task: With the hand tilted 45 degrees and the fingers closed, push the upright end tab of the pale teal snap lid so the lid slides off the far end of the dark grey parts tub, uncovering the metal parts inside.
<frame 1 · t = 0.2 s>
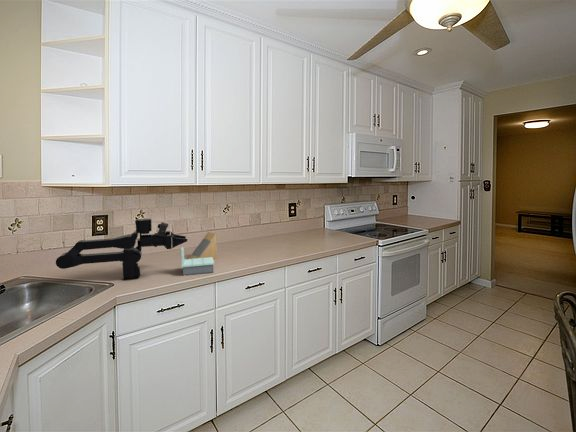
hand: (186, 238, 146), 16 cm above the worktop, tool horizontal, fingers open, 9 cm apart
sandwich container: (201, 261, 166), on the worktop
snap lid: (197, 255, 146), point 8 cm above the worktop, slide at 0.0 cm
parts tub: (198, 271, 147), on the worktop
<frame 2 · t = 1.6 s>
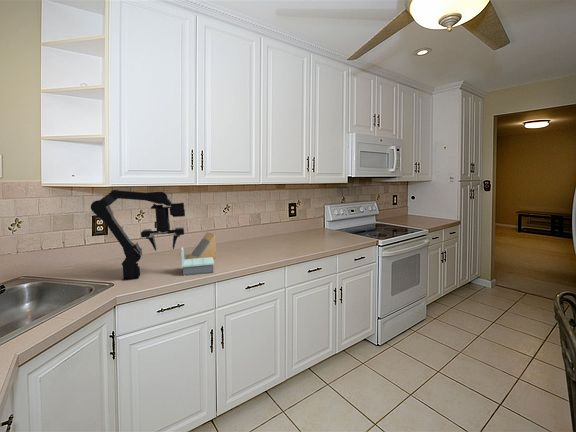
hand: (164, 249, 141), 12 cm above the worktop, tool pointing down, fingers open, 8 cm apart
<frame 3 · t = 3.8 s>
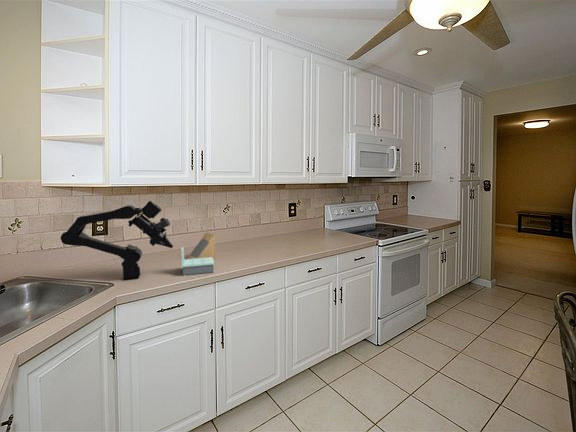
hand: (172, 247, 142), 13 cm above the worktop, tool tilted 45°, fingers closed
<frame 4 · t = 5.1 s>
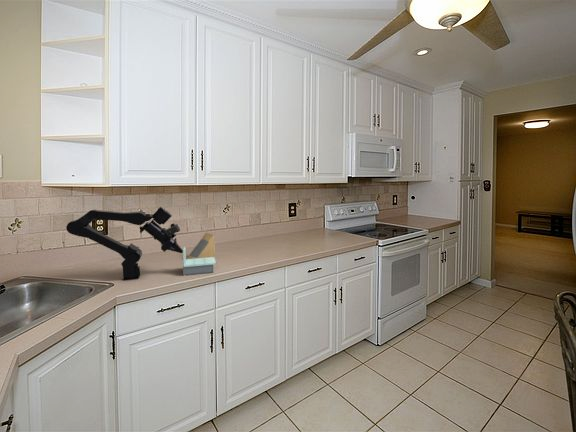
hand: (182, 252, 144), 10 cm above the worktop, tool tilted 45°, fingers closed, pressing on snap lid
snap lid: (199, 255, 146), point 8 cm above the worktop, slide at 0.9 cm, touching gripper
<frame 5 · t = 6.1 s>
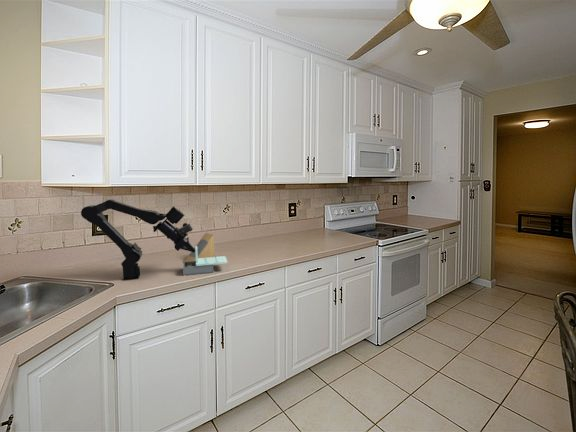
hand: (194, 251, 145), 10 cm above the worktop, tool tilted 45°, fingers closed, pressing on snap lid
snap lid: (211, 254, 148), point 8 cm above the worktop, slide at 6.5 cm, touching gripper
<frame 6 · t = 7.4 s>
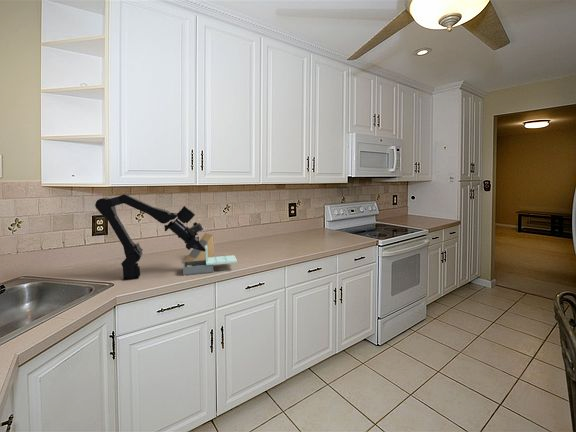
hand: (204, 250, 147), 10 cm above the worktop, tool tilted 45°, fingers closed, pressing on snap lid
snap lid: (220, 253, 149), point 8 cm above the worktop, slide at 11.3 cm, touching gripper
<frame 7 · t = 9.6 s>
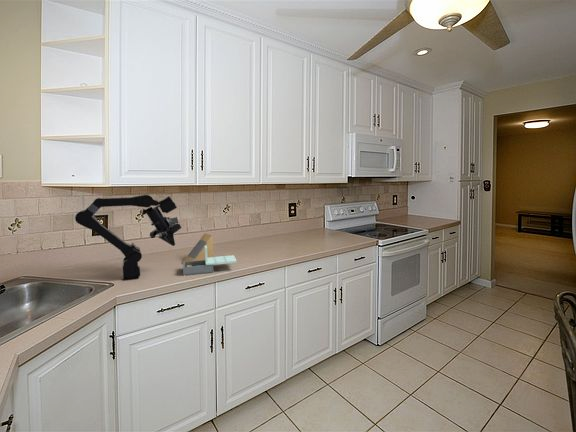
hand: (174, 245, 145), 13 cm above the worktop, tool tilted 25°, fingers closed
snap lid: (220, 253, 149), point 8 cm above the worktop, slide at 11.0 cm
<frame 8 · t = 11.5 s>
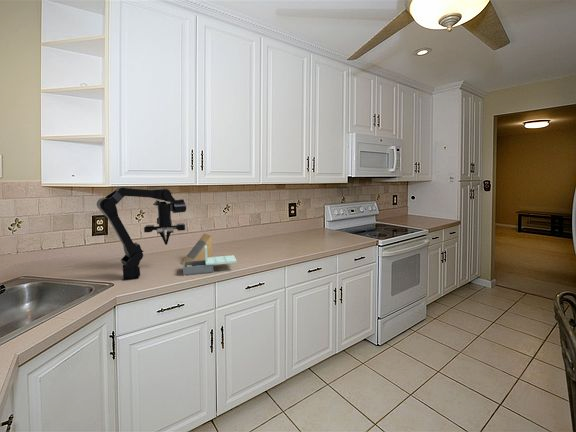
hand: (166, 244, 148), 13 cm above the worktop, tool pointing down, fingers closed
at the end: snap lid slide at 11.0 cm; the gripper is holding nothing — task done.
